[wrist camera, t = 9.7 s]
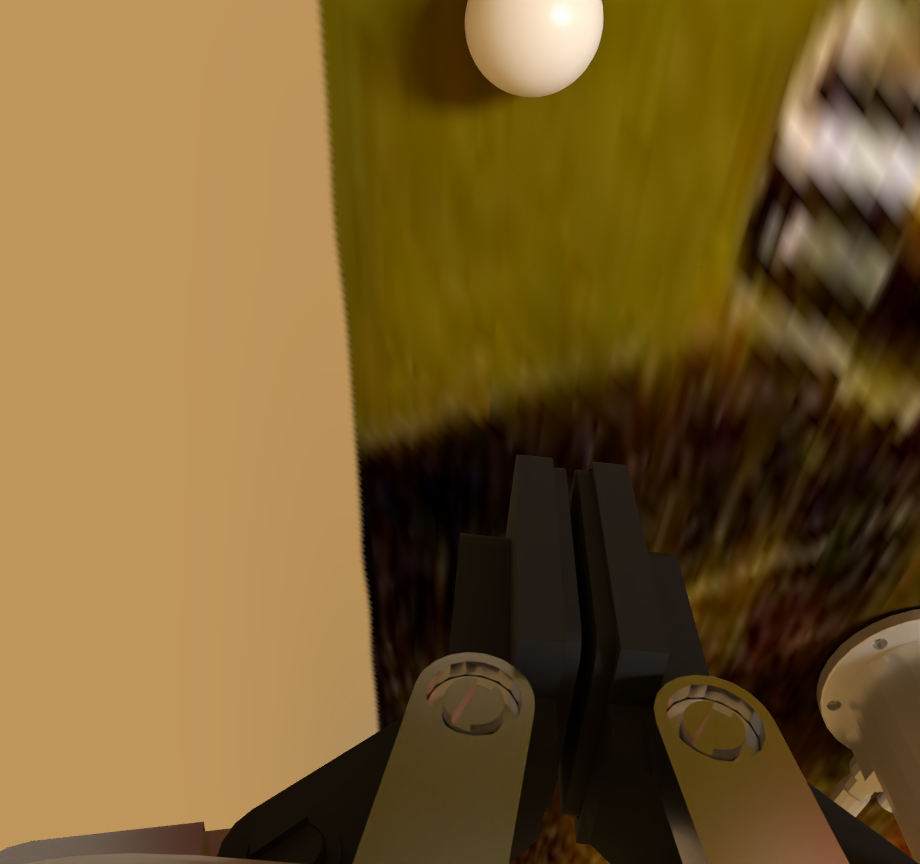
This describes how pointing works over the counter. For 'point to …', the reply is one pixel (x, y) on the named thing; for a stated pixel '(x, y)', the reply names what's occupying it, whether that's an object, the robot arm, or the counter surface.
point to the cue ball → (533, 42)
